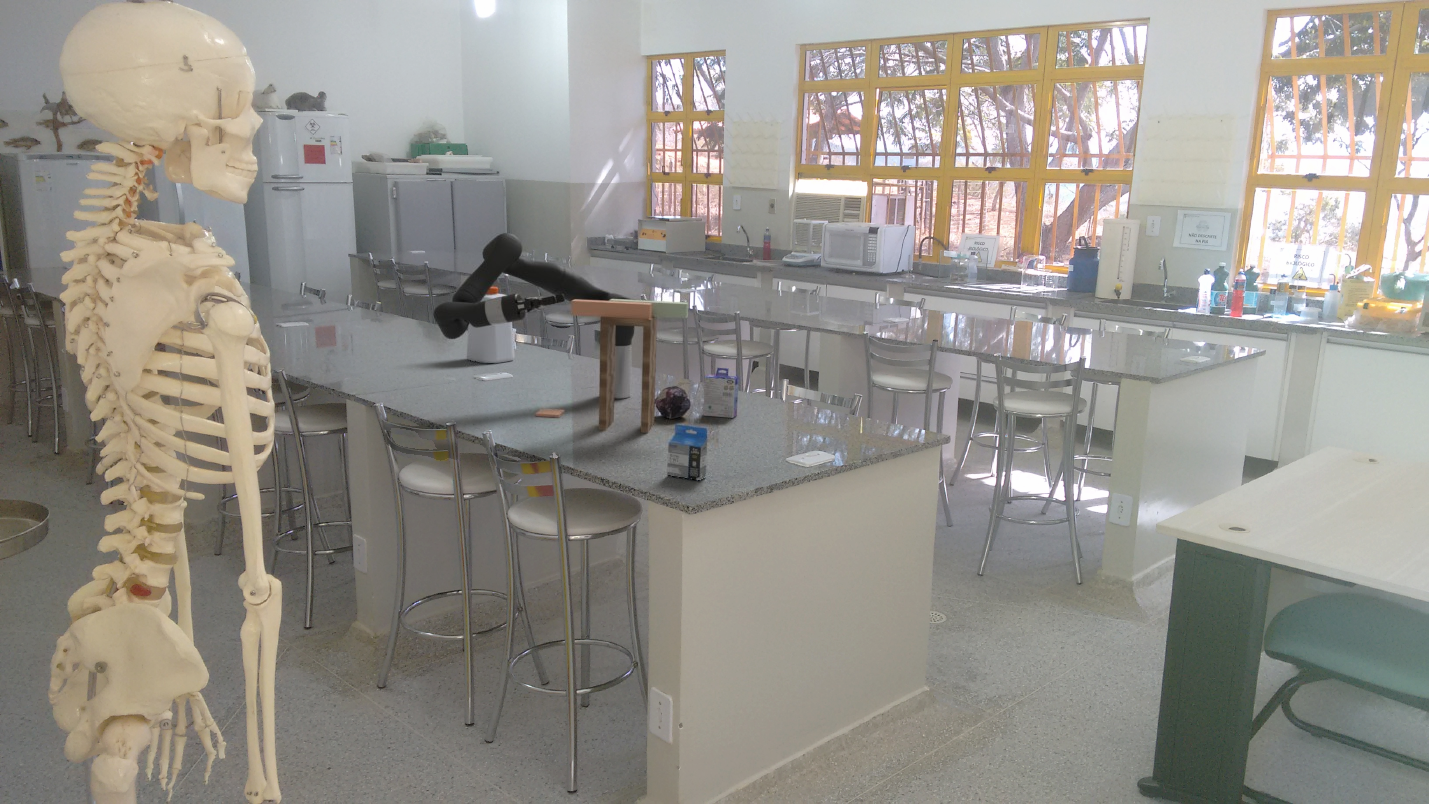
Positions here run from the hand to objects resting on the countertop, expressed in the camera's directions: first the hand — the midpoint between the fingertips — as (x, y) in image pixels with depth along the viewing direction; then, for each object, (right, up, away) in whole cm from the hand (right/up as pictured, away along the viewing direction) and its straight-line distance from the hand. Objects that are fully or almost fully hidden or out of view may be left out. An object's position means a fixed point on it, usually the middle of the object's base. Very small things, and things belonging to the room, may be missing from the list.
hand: (560, 298), depth 288 cm
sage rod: (+24, -4, +5) cm, 25 cm away
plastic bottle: (-43, -13, +109) cm, 118 cm away
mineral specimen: (+30, -34, +24) cm, 51 cm away
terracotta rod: (+14, -5, +1) cm, 15 cm away
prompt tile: (-6, -32, +22) cm, 40 cm away
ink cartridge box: (+45, -33, +29) cm, 63 cm away
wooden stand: (+18, -36, +10) cm, 41 cm away
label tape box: (+36, -47, -39) cm, 71 cm away
